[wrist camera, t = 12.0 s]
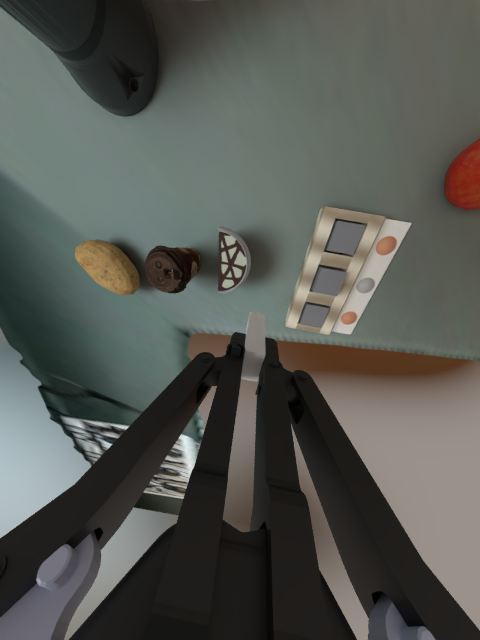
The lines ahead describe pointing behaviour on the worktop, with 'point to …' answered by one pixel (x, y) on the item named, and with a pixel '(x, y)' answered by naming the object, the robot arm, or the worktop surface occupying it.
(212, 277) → the worktop surface
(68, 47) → the robot arm
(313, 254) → the button board
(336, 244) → the button
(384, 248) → the pattern card
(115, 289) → the potato
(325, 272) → the middle button
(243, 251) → the food container
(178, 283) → the coffee cup
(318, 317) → the button
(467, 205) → the apple
